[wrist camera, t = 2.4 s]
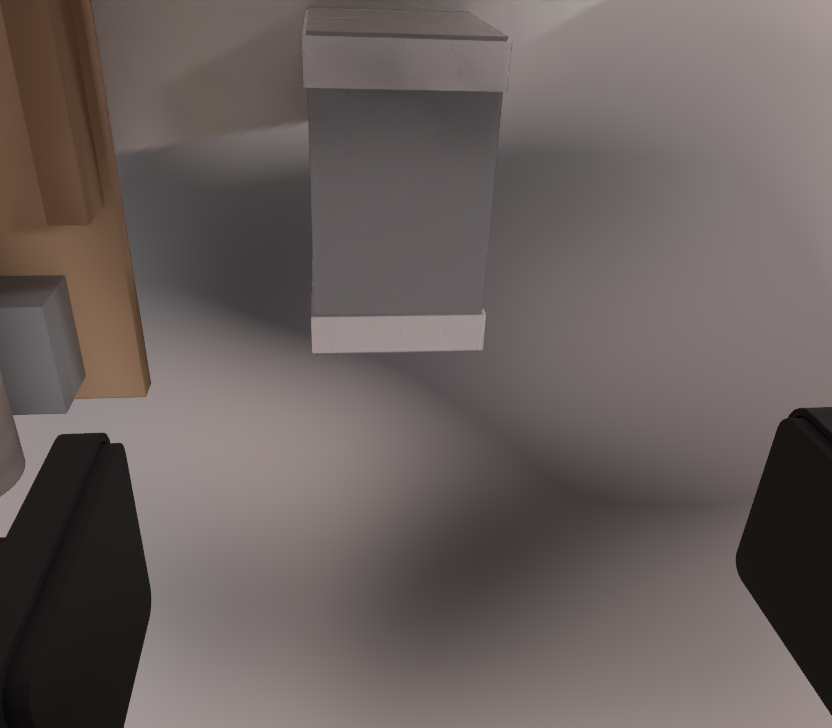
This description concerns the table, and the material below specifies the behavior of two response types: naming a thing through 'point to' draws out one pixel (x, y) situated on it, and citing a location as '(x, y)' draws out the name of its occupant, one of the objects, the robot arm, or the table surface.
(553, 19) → the table surface
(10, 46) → the coupling rig
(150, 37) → the table surface
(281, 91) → the table surface
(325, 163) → the block
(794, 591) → the robot arm
